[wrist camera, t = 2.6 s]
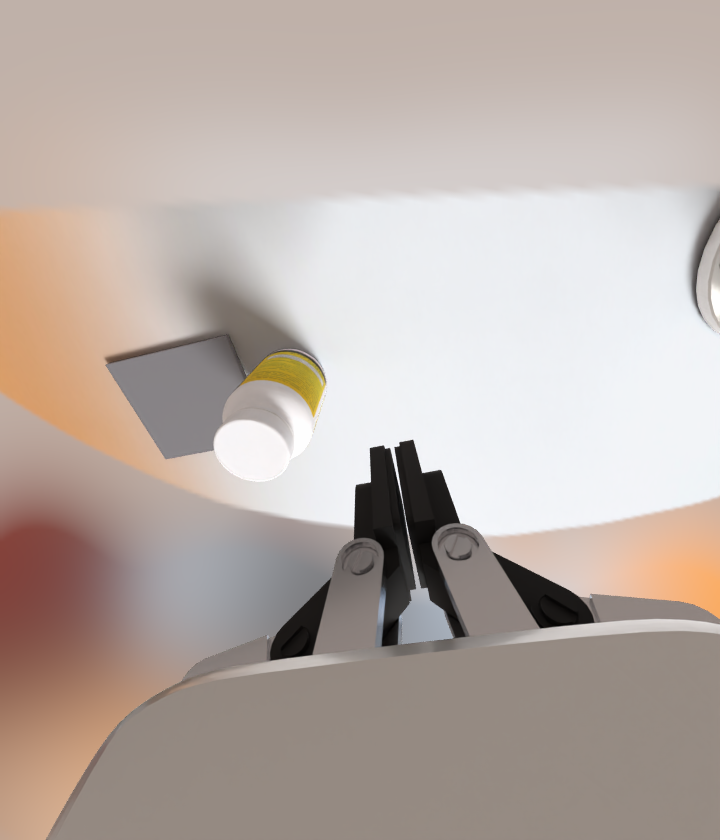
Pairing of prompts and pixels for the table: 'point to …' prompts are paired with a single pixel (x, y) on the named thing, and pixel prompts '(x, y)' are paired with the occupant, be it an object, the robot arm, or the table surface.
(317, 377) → the supplement bottle
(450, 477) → the table surface
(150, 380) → the mat
